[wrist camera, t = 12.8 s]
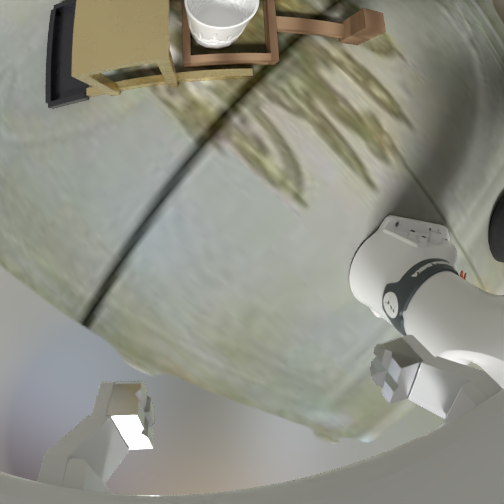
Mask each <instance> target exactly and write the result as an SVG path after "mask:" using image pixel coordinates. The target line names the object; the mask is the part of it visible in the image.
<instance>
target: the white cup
mask: <svg viewBox="0 0 504 504" xmlns="http://www.w3.org/2000/svg"><path fill="white" fill-rule="evenodd" d="M184 4H185V9H186V15H187V20H188V24H189V28H190V30H191V35H192V37H193V38H194V39H195V41H196V42H197V43H198V44H200V45H202V46H203V47H205V48H210V49H221V48H224V47H228V46H230V45H231V44H232V43H233V42H235V41H236V40H237V39H238V37H239V36H240V35H241V33H242V32H243V31H244V29H245V28H246V27H247V25H248V24H249V22H250V20H251V19H252V17H253V16H254V14H255V13H256V11H257V9H258V6H259V0H184Z"/></svg>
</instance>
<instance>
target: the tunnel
mask: <svg viewBox="0 0 504 504" xmlns="http://www.w3.org/2000/svg"><path fill="white" fill-rule="evenodd" d="M169 10H170V0H68V1H65V2H62V3H59V4H56V5H54V9H53V10H51V15H50V23H49V32H48V43H47V58H46V103H48V108H53V109H54V108H58V107H61V106H65V105H69V104H73V103H77V102H81V101H85V100H89V96H90V97H94V96H98V95H103V94H109V95H110V96H116V95H120V91H124V90H129V89H135V88H142V87H148V86H156V85H163V84H167V85H168V87H176V86H178V83H181V82H192V81H204V80H221V79H250V78H251V77H252V76H253V70H252V69H217V70H201V71H189V72H179V73H176V70H175V67H174V63H173V60H172V56H171V53H170V44H169ZM151 63H157V65H158V67H159V69H160V71H161V73H162V74H161V75H154V76H147V77H140V78H134V79H128V80H123V81H117V82H113V81H112V80H110V79H109V78H107V77H106V76H104V75H103V74H102V73H101V72H106V71H110V70H115V69H121V68H126V67H132V66H138V65H144V64H151ZM88 85H90V86H93V87H89V88H88Z"/></svg>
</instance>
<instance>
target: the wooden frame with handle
mask: <svg viewBox="0 0 504 504" xmlns="http://www.w3.org/2000/svg"><path fill="white" fill-rule="evenodd" d="M263 11H264V25H265V40H266V53H223V54H204V55H191V43H190V28H189V24H188V20H187V15H186V9H185V4H184V0H182V53H183V68H188V67H200V66H216V65H250V64H260V65H275V64H276V63H277V62H278V61H279V53H278V38H277V32H286V33H299V34H309V35H318V36H326V37H334V38H339V42H341V43H347V44H353V45H359V44H361V43H363V42H365V41H367V40H369V39H371V38H374V37H376V36H378V35H380V34H382V33H385V32H386V30H385V23H384V17H383V13H381V12H377V11H373V10H369V9H365V8H363V9H361V10H359V11H358V12H356V13H355V14H353V15H352V16H350V17H349V18H347V19H346V20H344V21H343V22H341V23H334V22H328V21H321V20H313V19H304V18H294V17H282V16H276V12H275V0H263Z"/></svg>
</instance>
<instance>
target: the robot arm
mask: <svg viewBox="0 0 504 504" xmlns="http://www.w3.org/2000/svg"><path fill="white" fill-rule="evenodd" d="M396 223H397V225H396V226H395V224H396ZM456 269H457V251H456V248H455V247H454V245H453V244H451V243H450V238H449V233H448V229H447V228H446V227H445V226H443V225H440V224H435V223H430V222H425V221H420V220H415V219H409V218H404V217H399V216H393V215H389V216H387V217H386V218H385V219H384V221H383V222H382V224H381V225H380V227H379V229H378V230H377V231H376V232H375V233H374V234H373V235H372V236H371V237H369V238H368V239H367V240H366V241H365V242H364V243H363V244H362V246H361V247H360V248H359V250H358V251H357V253H356V255H355V257H354V259H353V262H352V265H351V269H350V276H349V281H350V287H351V290H352V293H353V294H354V296H355V297H356V298H357V299H358V300H359V301H360V302H361V303H363V304H365V305H367V306H368V307H370V309H371V311H372V313H373V314H374V315H375V316H377V317H382V318H384V319H385V320H386V321H387V322H389V323H390V324H391V325H393V326H394V327H395V328H396V329H397V330H398V331H399V332H400V334H401V335H402V336H403V337H399V338H397V339H393V340H390V341H386V342H383V343H379V344H377V345H376V346H375V348H374V354H375V356H376V357H375V358H374V359H373V361H372V362H371V367H370V372H371V377H372V380H373V381H374V383H375V384H376V385H377V386H379V387H381V388H382V392H381V393H382V395H383V396H384V397H385V399H386V400H387V402H388V403H389V404H392V403H395V402H398V401H401V400H404V399H406V398H408V399H409V400H411V401H413V402H414V403H416V404H418V405H420V406H422V407H424V408H425V409H427V410H429V411H431V412H433V413H435V414H437V415H438V416H440V417H442V418H444V419H445V420H444V421H443V423H442V425H441V427H439V428H437V429H435V430H433V431H431V432H429V433H427V434H425V435H423V436H421V437H419V438H416V439H414V440H412V441H410V442H407V443H405V444H403V445H401V446H398V447H396V448H393V449H391V450H388V451H386V452H383V453H381V454H378V455H376V456H373V457H370V458H367V459H365V460H362V461H359V462H356V463H353V464H350V465H347V466H344V467H341V468H337V469H334V470H331V471H328V472H324V473H320V474H316V475H313V476H309V477H305V478H300V479H296V480H292V481H287V482H283V483H278V484H273V485H267V486H261V487H255V488H249V489H242V490H235V491H226V492H217V493H205V494H189V495H129V494H114V493H112V491H111V490H110V489H109V488H108V487H107V486H106V485H105V483H106V482H107V480H108V479H109V478H110V476H111V475H112V474H113V472H114V471H115V470H116V468H117V467H118V465H119V464H120V463H121V462H122V460H123V459H124V457H125V456H126V455H127V453H128V452H129V449H152V448H153V441H154V432H153V430H152V428H151V427H152V426H153V425H154V423H155V415H154V407H153V403H152V400H151V398H150V397H148V396H147V387H146V384H145V382H143V381H120V382H119V381H116V382H102V383H101V384H100V386H99V389H98V393H97V396H96V400H95V404H94V408H93V411H92V415H91V416H87V417H86V418H85V419H83V420H82V421H81V422H80V423H79V424H78V425H77V426H75V427H74V428H73V429H72V430H71V431H70V432H68V433H67V434H66V435H65V436H64V437H63V438H62V439H61V440H59V441H58V442H57V443H56V444H55V445H54V446H53V447H51V448H50V449H49V450H48V451H47V452H46V453H45V455H44V458H43V462H42V465H41V469H40V473H39V476H38V480H37V482H36V481H32V480H28V479H24V478H20V477H17V476H13V475H9V474H6V473H3V472H0V504H504V295H495V294H491V293H488V292H486V291H484V290H482V289H480V288H478V287H476V286H475V285H473V284H471V283H469V282H468V281H466V280H465V278H466V273H465V274H464V278H463V271H461V274H460V276H459V275H458V273H457V272H456ZM473 362H474V363H476V364H477V365H479V366H480V367H482V368H483V369H484V370H485V371H481V370H478V369H475V368H472V367H469V366H468V365H469V364H471V363H473Z"/></svg>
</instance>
